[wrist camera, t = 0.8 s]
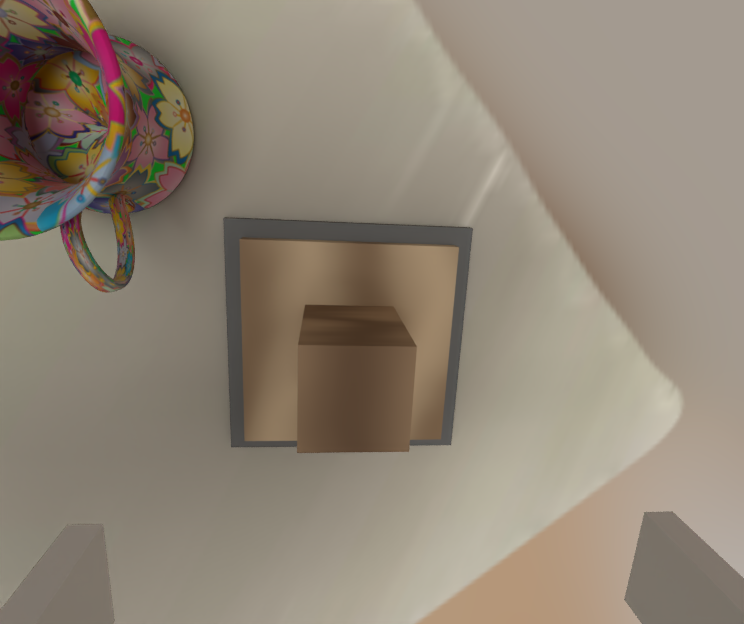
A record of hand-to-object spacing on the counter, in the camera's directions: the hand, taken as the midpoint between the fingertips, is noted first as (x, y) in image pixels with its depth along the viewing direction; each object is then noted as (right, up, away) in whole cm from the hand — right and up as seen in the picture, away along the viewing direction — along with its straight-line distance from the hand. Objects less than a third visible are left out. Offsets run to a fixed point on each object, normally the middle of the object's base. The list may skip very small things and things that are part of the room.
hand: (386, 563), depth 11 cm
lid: (-2, +4, +16) cm, 17 cm away
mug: (-13, +14, +13) cm, 24 cm away
